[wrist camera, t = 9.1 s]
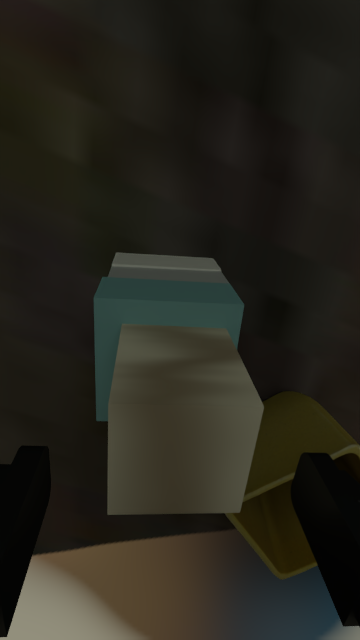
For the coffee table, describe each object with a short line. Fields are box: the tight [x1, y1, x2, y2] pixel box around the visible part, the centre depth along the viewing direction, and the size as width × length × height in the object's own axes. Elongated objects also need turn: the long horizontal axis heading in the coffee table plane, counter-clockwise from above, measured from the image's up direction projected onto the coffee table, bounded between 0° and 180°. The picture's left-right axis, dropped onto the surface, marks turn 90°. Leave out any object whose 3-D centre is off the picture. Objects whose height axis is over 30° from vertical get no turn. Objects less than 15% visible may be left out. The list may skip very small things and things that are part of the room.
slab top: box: [94, 277, 244, 421], centre depth 17 cm, size 6×6×3 cm
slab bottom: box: [112, 253, 221, 271], centre depth 23 cm, size 6×6×3 cm
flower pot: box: [225, 391, 360, 580], centre depth 25 cm, size 9×9×9 cm
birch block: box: [108, 324, 264, 515], centre depth 13 cm, size 5×5×6 cm
